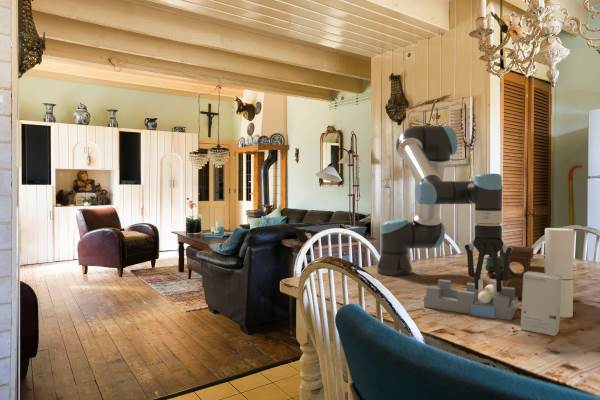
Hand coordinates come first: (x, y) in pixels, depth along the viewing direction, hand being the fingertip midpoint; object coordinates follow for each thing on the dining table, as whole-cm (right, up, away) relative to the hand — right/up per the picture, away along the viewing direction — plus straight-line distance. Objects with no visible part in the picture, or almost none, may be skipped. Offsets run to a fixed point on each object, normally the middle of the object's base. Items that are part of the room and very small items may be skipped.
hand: (488, 301), depth 127 cm
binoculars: (+25, -1, +45) cm, 52 cm away
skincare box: (+6, -3, -18) cm, 19 cm away
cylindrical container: (+19, -3, -4) cm, 20 cm away
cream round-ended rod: (0, +1, 0) cm, 1 cm away
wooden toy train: (+22, -2, +14) cm, 26 cm away
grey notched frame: (-4, -3, +3) cm, 6 cm away
